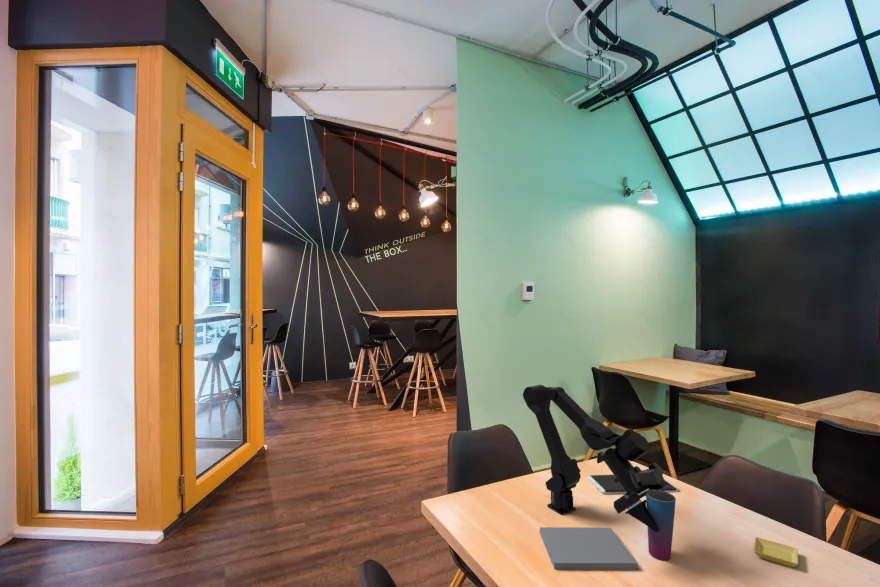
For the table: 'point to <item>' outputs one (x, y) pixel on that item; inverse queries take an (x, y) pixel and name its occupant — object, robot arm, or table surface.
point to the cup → (661, 523)
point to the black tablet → (617, 485)
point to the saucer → (776, 552)
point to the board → (585, 548)
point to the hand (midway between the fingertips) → (664, 527)
